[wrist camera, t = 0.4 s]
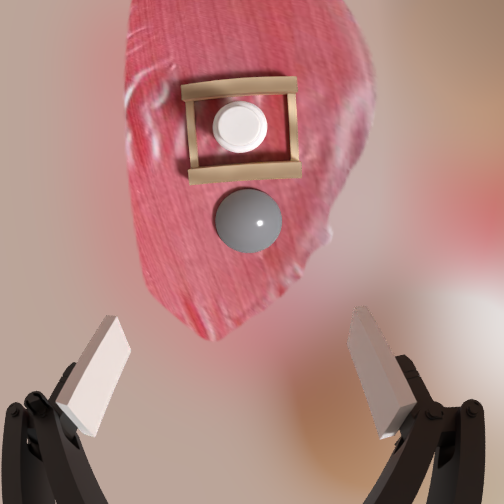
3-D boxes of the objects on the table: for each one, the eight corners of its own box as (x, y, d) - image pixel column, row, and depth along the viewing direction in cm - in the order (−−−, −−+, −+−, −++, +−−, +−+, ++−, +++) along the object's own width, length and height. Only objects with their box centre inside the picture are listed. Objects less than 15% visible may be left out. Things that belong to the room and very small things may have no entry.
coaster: (212, 191, 36) (212, 192, 36) (280, 186, 36) (280, 187, 35) (219, 252, 40) (219, 254, 39) (282, 249, 40) (282, 251, 39)
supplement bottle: (238, 158, 34) (233, 166, 25) (211, 126, 33) (196, 122, 23) (272, 132, 33) (281, 130, 24) (246, 100, 31) (243, 86, 22)
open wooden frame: (185, 88, 30) (180, 85, 28) (293, 80, 30) (296, 76, 28) (193, 182, 36) (189, 185, 33) (298, 175, 35) (301, 178, 33)
